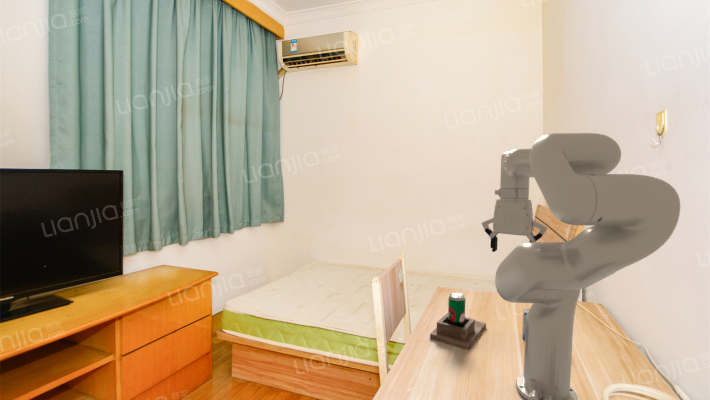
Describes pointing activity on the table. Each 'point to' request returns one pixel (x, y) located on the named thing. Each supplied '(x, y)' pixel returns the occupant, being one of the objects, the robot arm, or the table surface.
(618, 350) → the table surface
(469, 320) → the can stand
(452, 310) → the soda can
